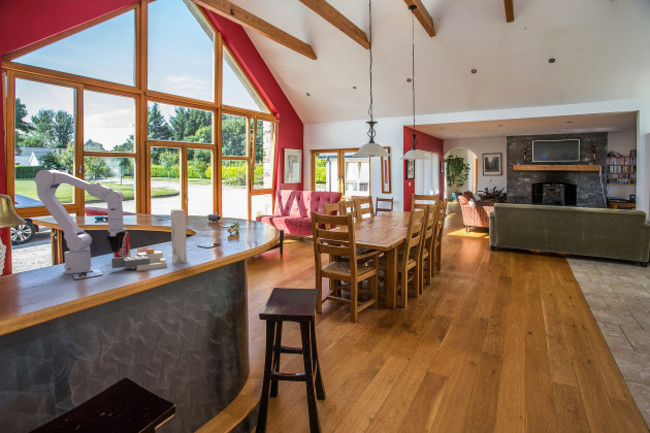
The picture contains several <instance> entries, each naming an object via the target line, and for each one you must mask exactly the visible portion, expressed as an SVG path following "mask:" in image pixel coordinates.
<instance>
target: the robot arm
mask: <svg viewBox="0 0 650 433" xmlns="http://www.w3.org/2000/svg"><path fill="white" fill-rule="evenodd" d="M33 181H34V183H35V185H36V193H37V197H38V198H39V200H40V201H41V203H42V204H43V206H44V207H45V208H46V209H47V211H48V212H49V214H50V215H51V216H52V218H53V220H55V222H56V223H57V224H58V226H59V228H61V230H62V231H63V233H64V235H63V238H64V240H65V241H66V246H67V248H68V249H69V250H68V251H64V265H63V266H64V270H65V275H71V274H79V273H91V272H93V269H94V268H93V266H92V260H91V259H92V256H91V248H90V246H91V244H92V242H93V239H92V236H91V235H90V234H88V233H87V232H85V230H84V229H83V228H82V227H79V226H78V224H77V223H76V222H75V221H74V219H73V218H72V216H71V215H70V213H69V212H68V211H67V210H66V208H65V207H64V205H63V204H62V202H61V201H60V200H59V198H58V197H57V196H56V192H57V189H58V188H59V187H60V186H61V185H62V184H68V185H70V186H73V187H75V188H78V189H80V190H85V192H87V195H89V196H91V197H93V198H96V199H99V200H101V201H105V203H106V205H107V208H106V209H107V223H108V224H107V225H108V226H107V227H108V229H107V232H109V234H108V235H105V236H106V240H107V241H108V242H109V245H110V248H111V251H112V253H114V252H118V250H119V248H122V244H123V238H124V235H125V233H126V232H127V230H128V229H127V228H126V227H124V210H123V209H124V208H123V201H124V198H125V196H124V193H123V192H122V191H120V190H118V189H114V188H113V187H107V186H105V185H104V184H102V182H96V181H94V182H92V183H89V182H88V181H85V180H84V179H81V178H80V177H79V178H78V177H76V176H73V175H71V174H69V173H67V172H64V171H60V170H57V169H41V170H39V171H38V172H36V174H35V176H34V179H33ZM113 189H114V190H113Z"/></svg>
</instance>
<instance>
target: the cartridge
mask: <svg viewBox="0 0 650 433" xmlns="http://www.w3.org/2000/svg"><path fill="white" fill-rule="evenodd" d="M145 264H150V258H149V257H148V256H143V255H142V256H137V255H135V256H130V257H127V258H124V257H117V258H114V257H111V268H112V269H119V268H125V269H129V268H135V267H137V265H145Z"/></svg>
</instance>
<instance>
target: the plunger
mask: <svg viewBox="0 0 650 433" xmlns="http://www.w3.org/2000/svg"><path fill="white" fill-rule="evenodd" d="M154 251H155V248H146V249H145V252H146V253H147V254H150V253H154Z"/></svg>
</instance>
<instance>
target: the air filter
mask: <svg viewBox="0 0 650 433" xmlns="http://www.w3.org/2000/svg"><path fill="white" fill-rule="evenodd" d="M186 221H187V220H186V211H185V209H182V208H180V209H179V208H178V209H177V208H176V209H175V208H174V209H171V210H170V228H171V229H170V230H171V231H170V232H171V234H170V235H171V256H172V257H171V259H172V264H176V265H177V264H178V265H179V264H185V263H187V262H188V261H187V260H188V259H187V258H188V254H187V230H186V229H187V227H186V224H187V223H186Z"/></svg>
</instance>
